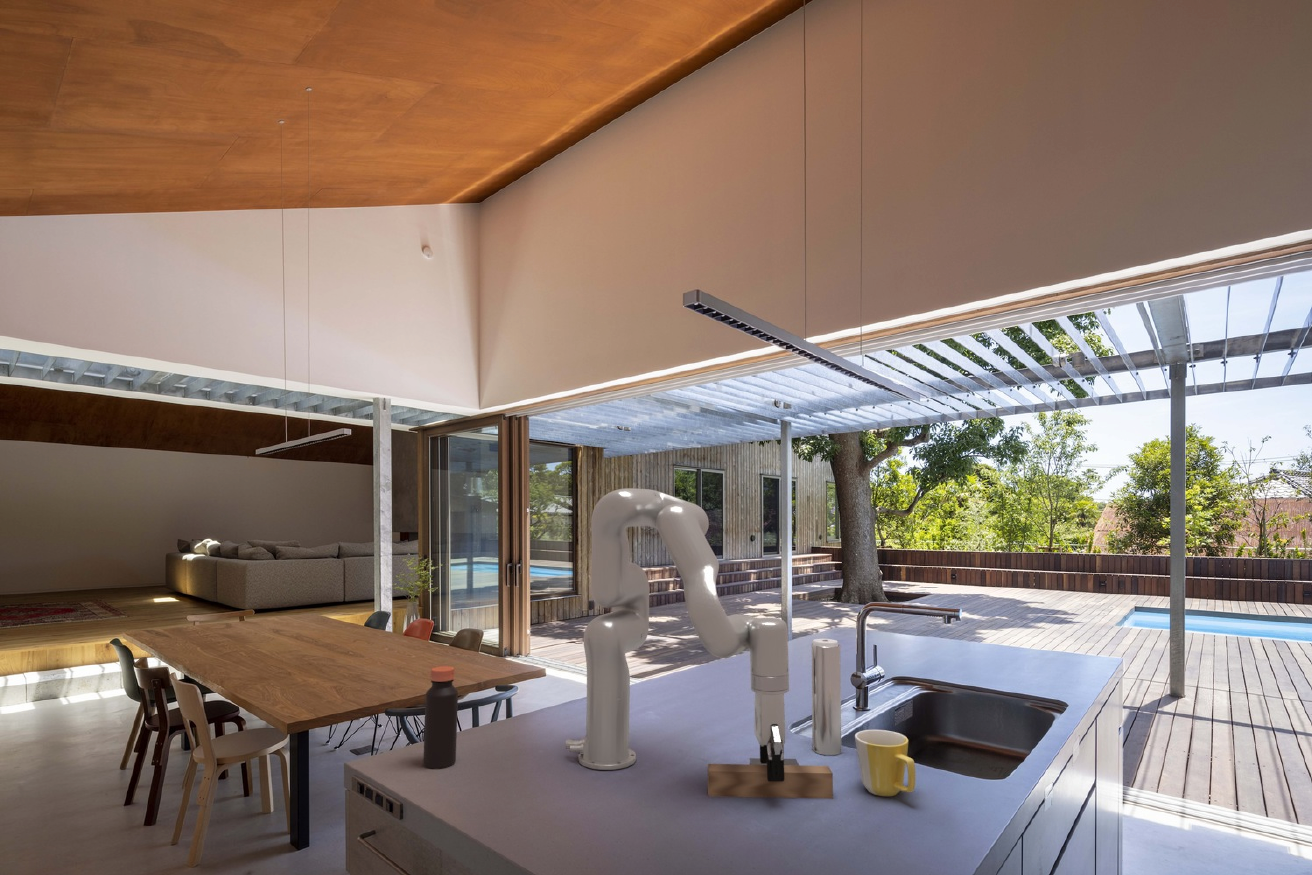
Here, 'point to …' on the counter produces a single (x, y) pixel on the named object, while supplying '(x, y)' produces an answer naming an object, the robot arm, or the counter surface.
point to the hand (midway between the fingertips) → (771, 771)
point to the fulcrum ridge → (757, 762)
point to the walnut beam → (755, 784)
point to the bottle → (440, 719)
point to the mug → (884, 762)
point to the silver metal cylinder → (826, 697)
